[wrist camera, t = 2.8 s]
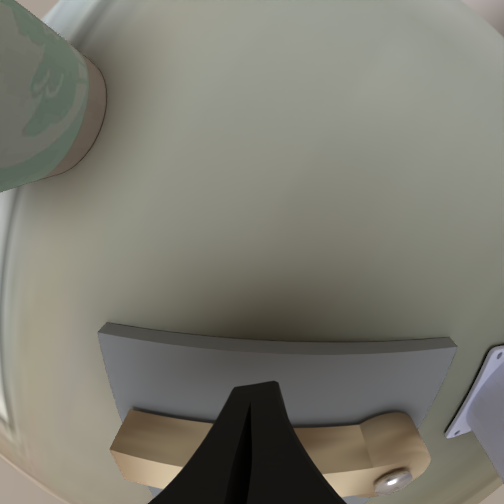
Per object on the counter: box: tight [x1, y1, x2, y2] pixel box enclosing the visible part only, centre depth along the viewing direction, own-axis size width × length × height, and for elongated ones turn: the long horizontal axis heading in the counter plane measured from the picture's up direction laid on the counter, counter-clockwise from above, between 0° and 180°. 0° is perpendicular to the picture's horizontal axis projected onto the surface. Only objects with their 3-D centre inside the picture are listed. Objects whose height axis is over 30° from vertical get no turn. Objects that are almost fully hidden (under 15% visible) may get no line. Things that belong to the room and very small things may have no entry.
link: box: [109, 409, 431, 497], centre depth 11 cm, size 16×4×3 cm, turn 87°
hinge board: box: [97, 323, 458, 504], centre depth 15 cm, size 18×24×1 cm
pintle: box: [374, 470, 413, 495], centre depth 9 cm, size 2×2×1 cm
